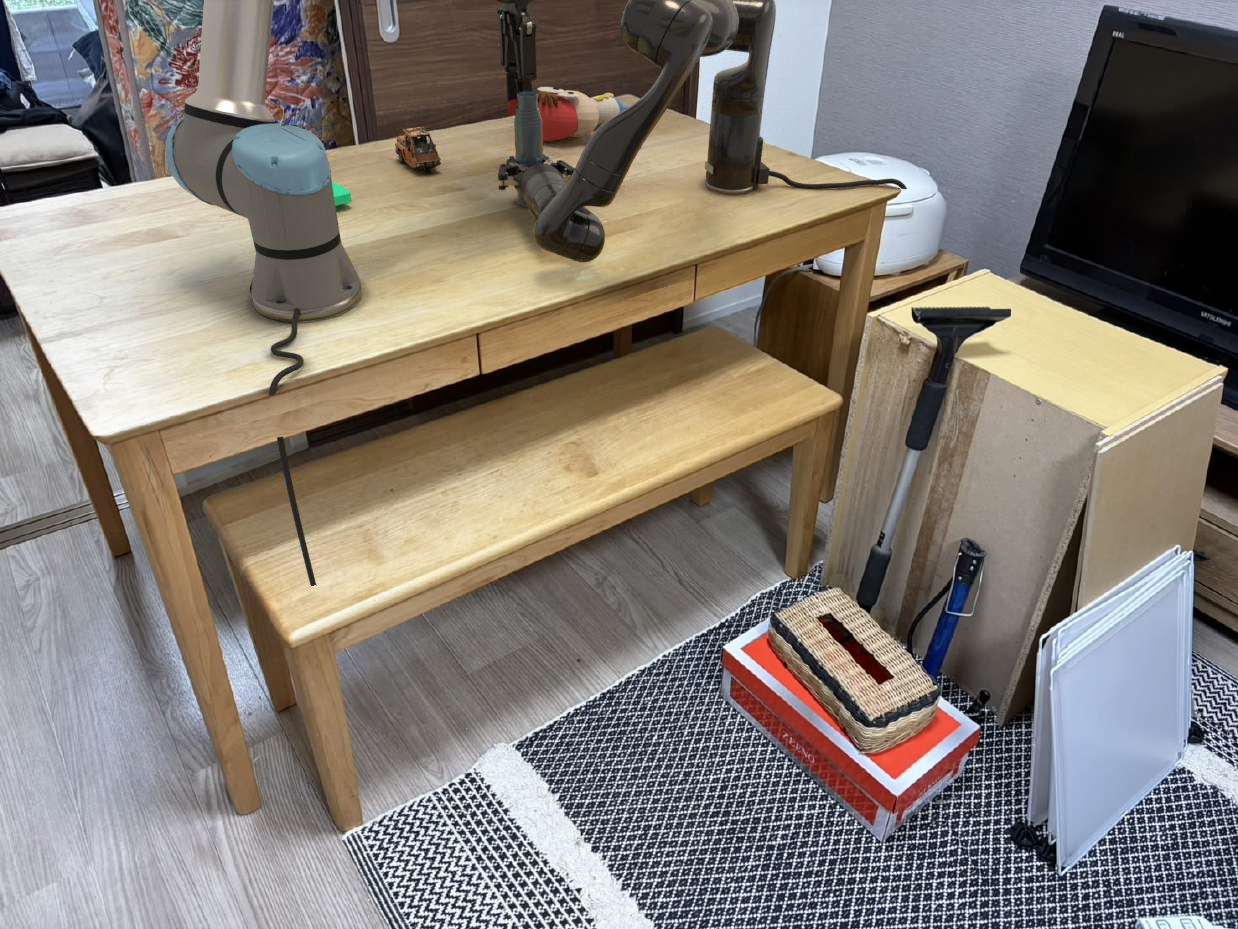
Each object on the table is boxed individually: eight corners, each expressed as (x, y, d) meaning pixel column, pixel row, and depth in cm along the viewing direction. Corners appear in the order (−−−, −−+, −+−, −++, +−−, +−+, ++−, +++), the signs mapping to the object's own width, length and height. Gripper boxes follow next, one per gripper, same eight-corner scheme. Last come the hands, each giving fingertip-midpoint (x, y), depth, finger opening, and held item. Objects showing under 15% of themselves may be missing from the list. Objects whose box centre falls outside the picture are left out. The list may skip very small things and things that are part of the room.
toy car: (418, 153, 186) (414, 118, 181) (449, 170, 178) (446, 134, 174) (389, 159, 182) (385, 123, 178) (419, 177, 175) (416, 140, 171)
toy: (674, 93, 197) (551, 94, 182) (670, 142, 202) (549, 147, 187) (627, 81, 210) (509, 80, 195) (624, 127, 215) (508, 131, 200)
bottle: (548, 205, 166) (545, 96, 155) (522, 208, 164) (518, 99, 153) (538, 196, 169) (535, 88, 158) (513, 199, 168) (508, 91, 156)
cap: (536, 109, 176) (536, 99, 175) (528, 117, 173) (528, 106, 172) (512, 107, 177) (512, 97, 176) (504, 114, 173) (504, 104, 172)
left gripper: (477, -33, 166) (485, 102, 180) (511, -15, 153) (518, 128, 167) (516, -35, 168) (522, 97, 183) (553, -17, 156) (556, 123, 170)
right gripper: (589, 169, 151) (565, 136, 164) (502, 175, 148) (485, 141, 161) (588, 213, 156) (565, 178, 169) (504, 220, 152) (487, 184, 165)
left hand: (520, 112), depth 175 cm, fingers closed on cap, 5 cm apart
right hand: (526, 160), depth 165 cm, fingers closed on bottle, 5 cm apart
